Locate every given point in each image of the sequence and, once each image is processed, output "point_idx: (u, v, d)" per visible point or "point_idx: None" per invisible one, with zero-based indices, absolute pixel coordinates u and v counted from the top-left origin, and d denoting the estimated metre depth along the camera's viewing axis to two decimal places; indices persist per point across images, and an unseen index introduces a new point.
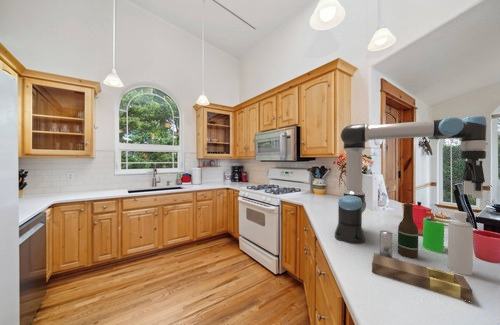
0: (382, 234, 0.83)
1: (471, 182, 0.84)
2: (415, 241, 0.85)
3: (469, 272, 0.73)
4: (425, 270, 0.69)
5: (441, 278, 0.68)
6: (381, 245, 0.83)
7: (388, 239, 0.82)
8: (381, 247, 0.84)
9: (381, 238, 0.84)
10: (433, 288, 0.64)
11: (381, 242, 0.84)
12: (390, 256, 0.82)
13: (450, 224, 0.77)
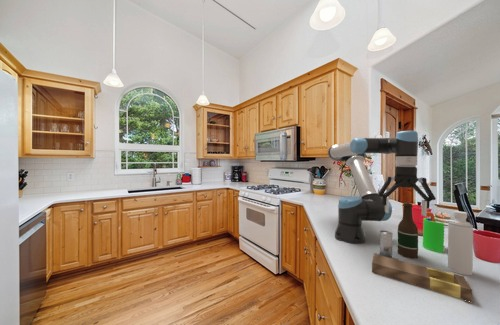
0: (382, 234, 0.83)
1: None
2: (414, 241, 0.85)
3: (469, 272, 0.73)
4: (425, 270, 0.69)
5: (441, 278, 0.68)
6: (381, 245, 0.83)
7: (388, 239, 0.82)
8: (381, 247, 0.84)
9: (381, 238, 0.84)
10: (433, 288, 0.64)
11: (381, 242, 0.84)
12: (390, 256, 0.82)
13: (450, 224, 0.77)
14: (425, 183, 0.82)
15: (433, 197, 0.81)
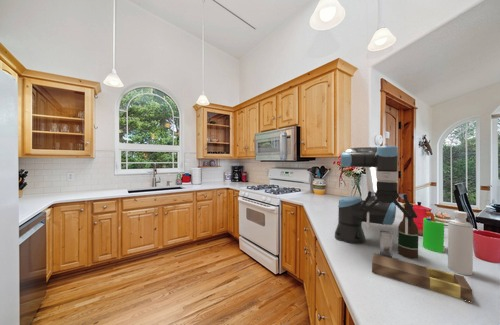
0: (382, 234, 0.83)
1: None
2: (415, 241, 0.85)
3: (469, 272, 0.73)
4: (425, 270, 0.69)
5: (441, 278, 0.68)
6: (381, 245, 0.83)
7: (388, 239, 0.82)
8: (381, 247, 0.84)
9: (381, 238, 0.84)
10: (433, 288, 0.64)
11: (381, 242, 0.84)
12: (390, 256, 0.82)
13: (450, 224, 0.77)
14: (406, 200, 0.79)
15: (414, 215, 0.77)
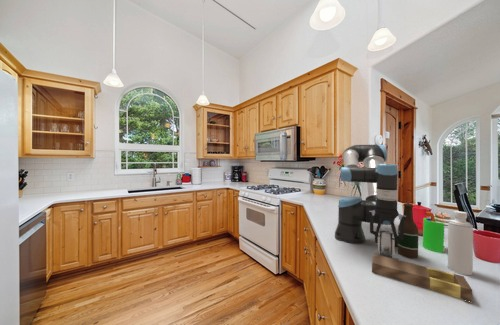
0: (382, 234, 0.83)
1: None
2: (415, 241, 0.85)
3: (469, 272, 0.73)
4: (425, 270, 0.69)
5: (441, 278, 0.68)
6: (381, 245, 0.83)
7: (388, 239, 0.82)
8: (381, 247, 0.83)
9: (381, 238, 0.84)
10: (433, 288, 0.64)
11: (381, 242, 0.84)
12: (390, 256, 0.82)
13: (450, 224, 0.77)
14: (402, 221, 0.80)
15: (401, 237, 0.80)
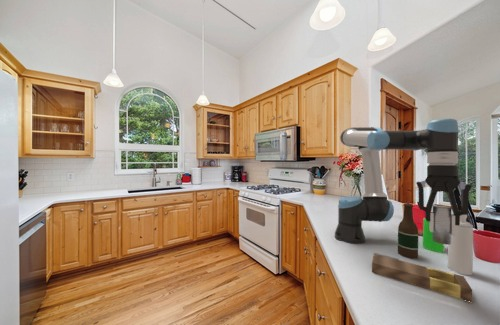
0: (437, 209, 0.65)
1: None
2: (415, 241, 0.85)
3: (469, 272, 0.73)
4: (425, 270, 0.69)
5: (441, 278, 0.68)
6: (436, 223, 0.65)
7: (446, 215, 0.64)
8: (436, 226, 0.66)
9: (436, 214, 0.66)
10: (433, 288, 0.64)
11: (436, 219, 0.66)
12: (449, 237, 0.64)
13: None
14: (466, 191, 0.62)
15: (465, 211, 0.62)
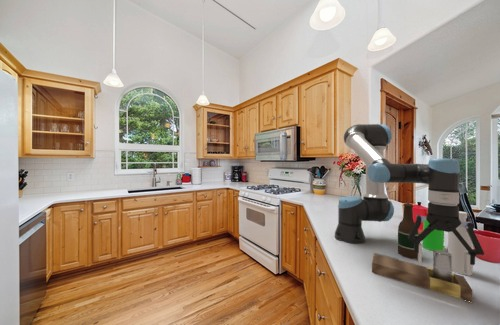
0: (438, 256, 0.65)
1: None
2: None
3: None
4: (425, 270, 0.69)
5: None
6: (437, 269, 0.65)
7: (447, 263, 0.64)
8: (436, 272, 0.65)
9: (436, 261, 0.66)
10: (433, 288, 0.64)
11: (436, 266, 0.65)
12: None
13: None
14: (471, 230, 0.61)
15: (480, 251, 0.60)
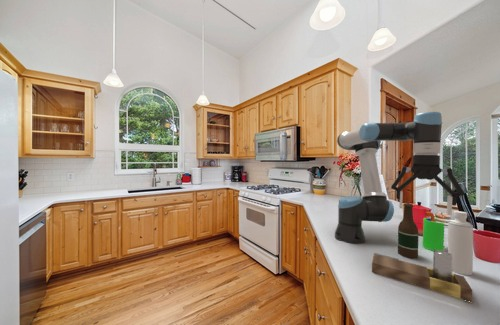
0: (438, 255, 0.65)
1: None
2: (415, 241, 0.85)
3: (469, 272, 0.73)
4: (425, 270, 0.69)
5: None
6: (437, 269, 0.65)
7: (447, 263, 0.64)
8: (437, 272, 0.65)
9: (436, 261, 0.66)
10: (433, 288, 0.64)
11: (437, 266, 0.65)
12: None
13: (450, 224, 0.77)
14: (450, 175, 0.67)
15: (461, 192, 0.66)
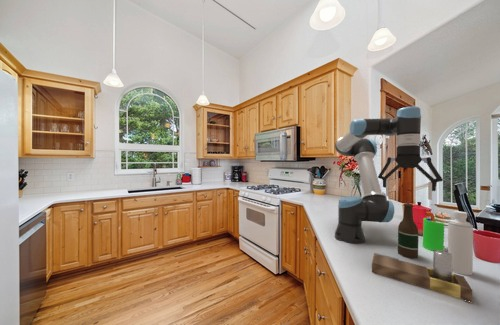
0: (438, 255, 0.65)
1: None
2: (415, 241, 0.85)
3: (469, 272, 0.73)
4: (425, 270, 0.69)
5: None
6: (437, 269, 0.65)
7: (447, 263, 0.64)
8: (437, 272, 0.65)
9: (437, 261, 0.66)
10: (433, 288, 0.64)
11: (437, 265, 0.66)
12: None
13: (450, 224, 0.77)
14: (430, 163, 0.74)
15: (439, 178, 0.72)
